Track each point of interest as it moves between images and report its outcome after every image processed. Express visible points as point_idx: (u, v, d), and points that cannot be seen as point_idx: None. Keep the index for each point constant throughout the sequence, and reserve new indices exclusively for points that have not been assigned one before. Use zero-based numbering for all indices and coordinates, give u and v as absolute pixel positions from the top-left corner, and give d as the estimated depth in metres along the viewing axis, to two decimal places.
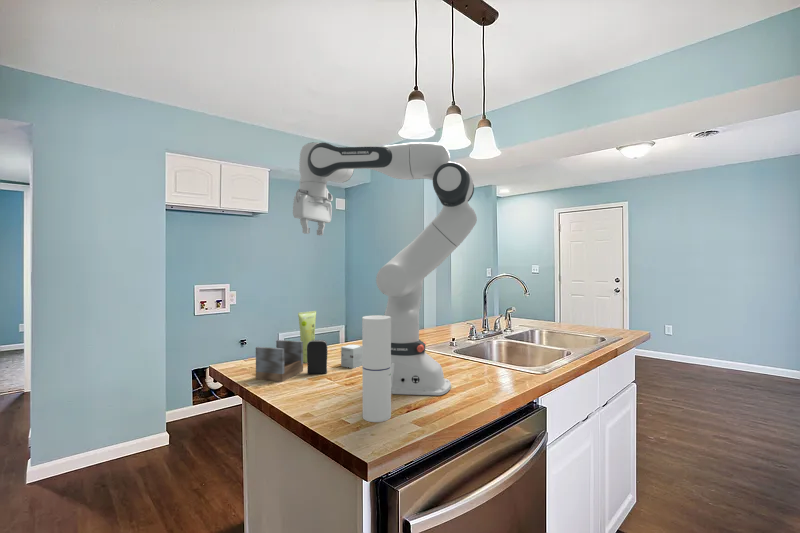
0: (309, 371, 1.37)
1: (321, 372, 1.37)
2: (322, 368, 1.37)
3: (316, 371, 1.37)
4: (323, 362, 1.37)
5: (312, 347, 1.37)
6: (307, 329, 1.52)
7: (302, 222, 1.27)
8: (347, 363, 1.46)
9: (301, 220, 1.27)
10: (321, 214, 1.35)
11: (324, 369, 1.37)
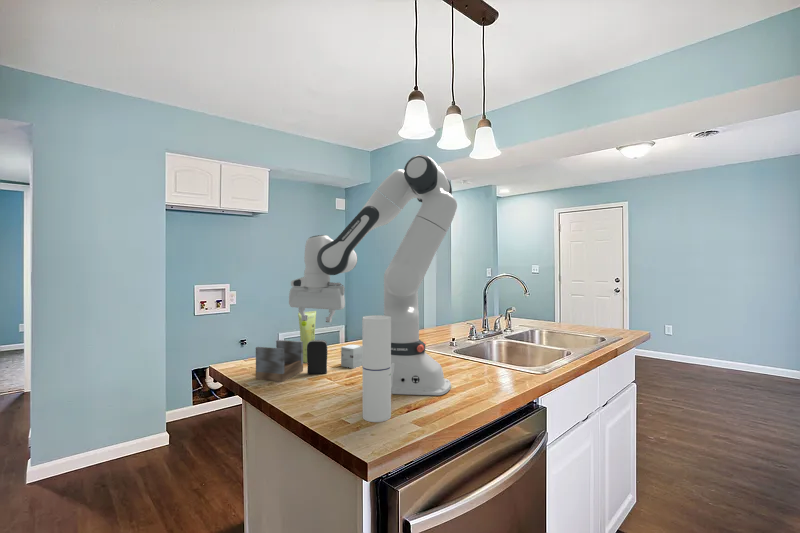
0: (309, 371, 1.37)
1: (321, 372, 1.37)
2: (322, 368, 1.37)
3: (316, 371, 1.37)
4: (323, 362, 1.37)
5: (312, 347, 1.37)
6: (307, 329, 1.52)
7: (333, 312, 1.37)
8: (347, 363, 1.46)
9: (333, 311, 1.36)
10: None
11: (324, 369, 1.37)
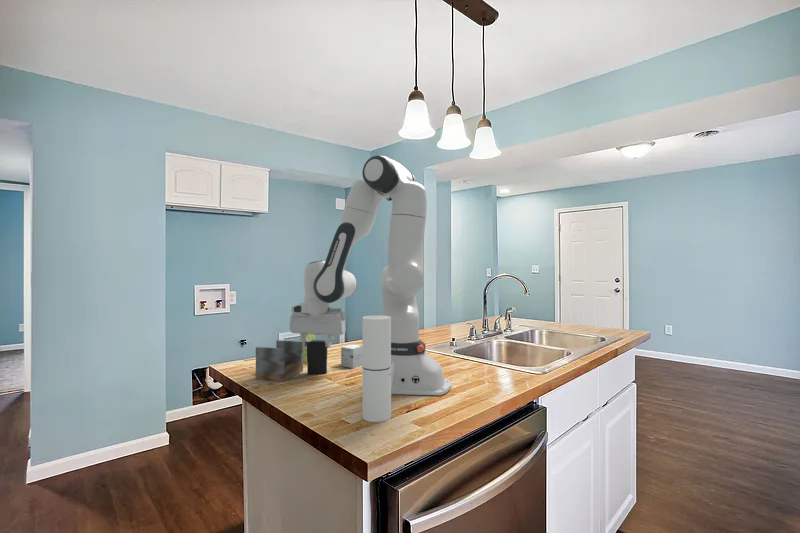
0: (309, 371, 1.37)
1: (321, 372, 1.37)
2: (322, 368, 1.37)
3: (316, 371, 1.37)
4: (323, 362, 1.37)
5: (312, 347, 1.37)
6: None
7: (332, 338, 1.37)
8: (347, 363, 1.46)
9: (332, 336, 1.37)
10: None
11: (324, 369, 1.37)
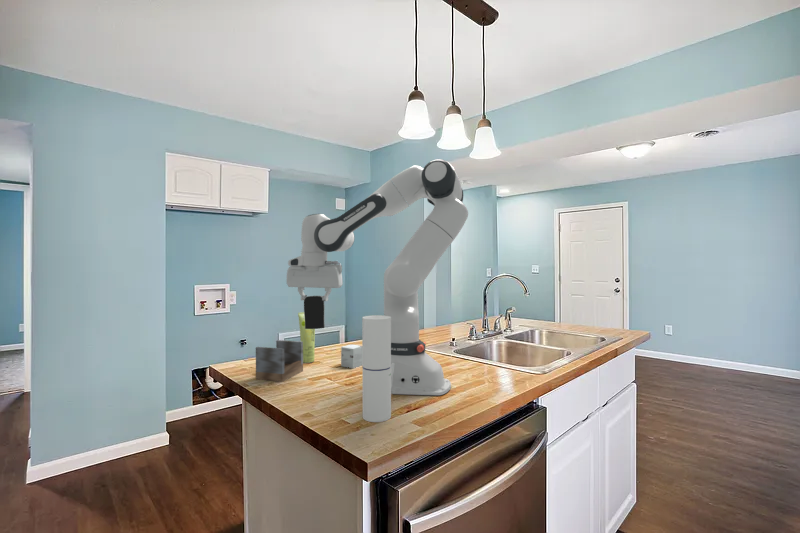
0: (307, 326, 1.37)
1: (319, 327, 1.37)
2: (320, 323, 1.37)
3: (314, 326, 1.37)
4: (320, 317, 1.37)
5: (309, 302, 1.37)
6: (307, 329, 1.52)
7: (329, 291, 1.37)
8: (347, 363, 1.46)
9: (329, 289, 1.36)
10: None
11: (322, 324, 1.37)
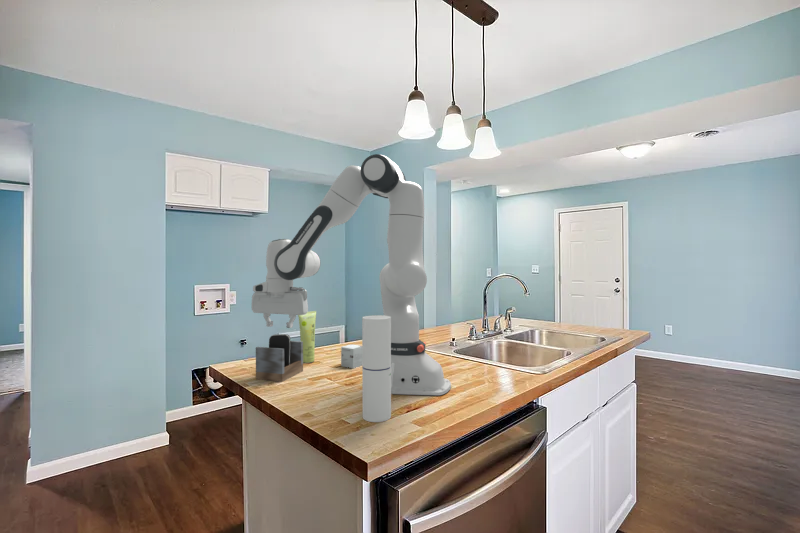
0: None
1: None
2: (284, 362, 1.35)
3: None
4: (285, 356, 1.35)
5: (274, 341, 1.34)
6: (307, 329, 1.52)
7: (293, 318, 1.34)
8: (347, 363, 1.46)
9: (293, 316, 1.34)
10: None
11: (286, 363, 1.35)
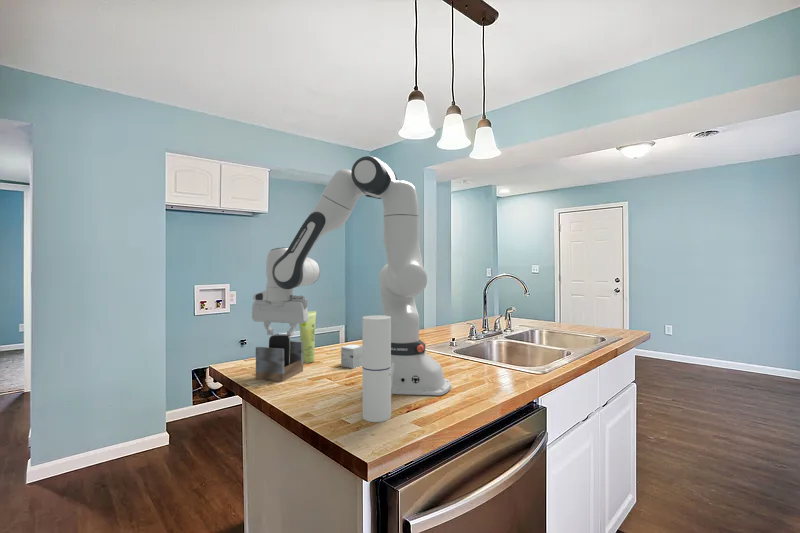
0: None
1: None
2: (284, 363, 1.35)
3: None
4: (285, 356, 1.35)
5: (274, 341, 1.34)
6: (307, 329, 1.52)
7: (294, 326, 1.34)
8: (347, 363, 1.46)
9: (293, 324, 1.34)
10: None
11: (287, 364, 1.35)
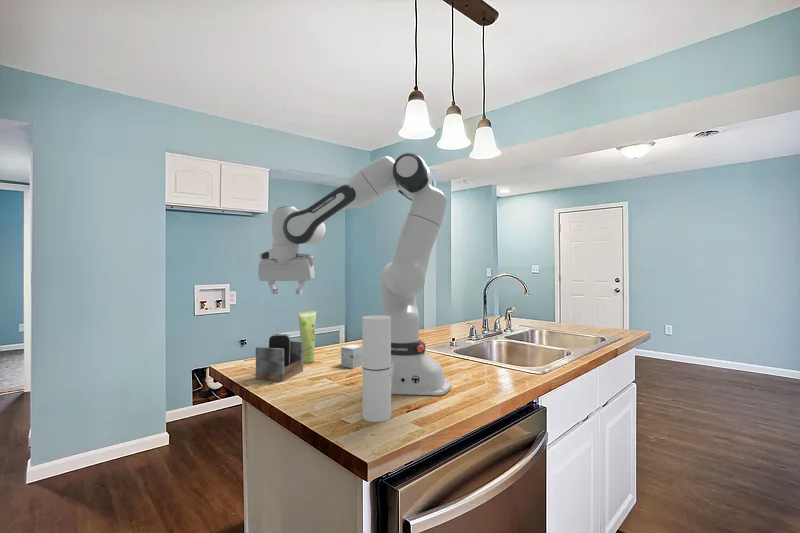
0: None
1: None
2: (284, 363, 1.35)
3: None
4: (285, 356, 1.35)
5: (274, 341, 1.34)
6: (307, 329, 1.52)
7: (302, 284, 1.35)
8: (347, 363, 1.46)
9: (302, 282, 1.35)
10: None
11: (287, 364, 1.35)
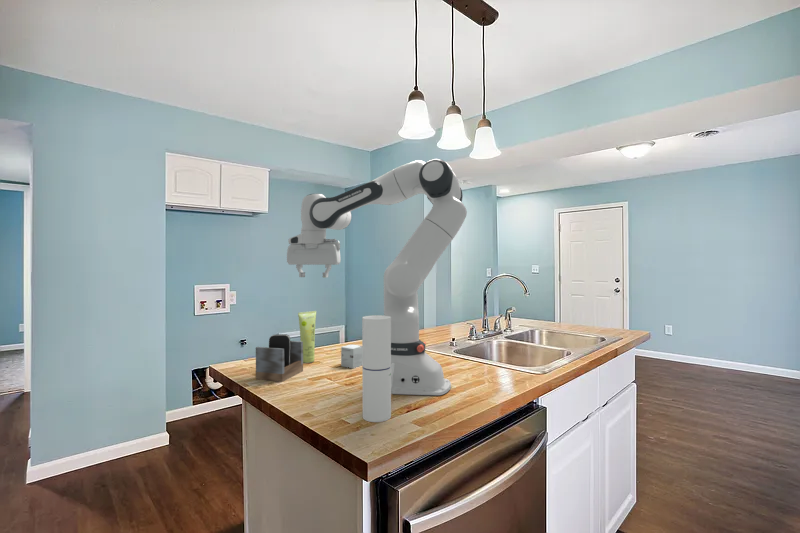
0: None
1: None
2: (284, 363, 1.35)
3: None
4: (285, 356, 1.35)
5: (274, 341, 1.34)
6: (307, 329, 1.52)
7: (329, 268, 1.42)
8: (347, 363, 1.46)
9: (329, 266, 1.42)
10: None
11: (287, 364, 1.35)
